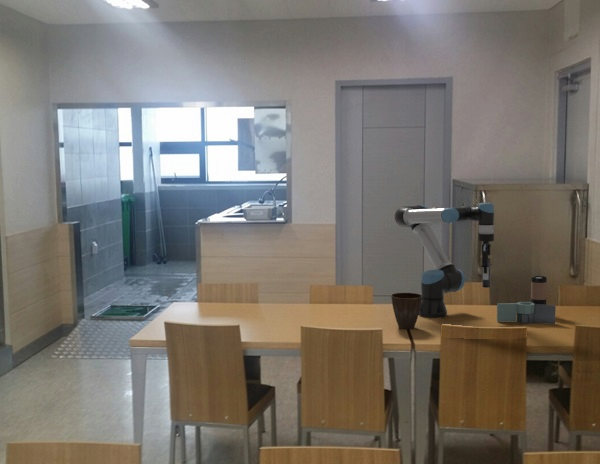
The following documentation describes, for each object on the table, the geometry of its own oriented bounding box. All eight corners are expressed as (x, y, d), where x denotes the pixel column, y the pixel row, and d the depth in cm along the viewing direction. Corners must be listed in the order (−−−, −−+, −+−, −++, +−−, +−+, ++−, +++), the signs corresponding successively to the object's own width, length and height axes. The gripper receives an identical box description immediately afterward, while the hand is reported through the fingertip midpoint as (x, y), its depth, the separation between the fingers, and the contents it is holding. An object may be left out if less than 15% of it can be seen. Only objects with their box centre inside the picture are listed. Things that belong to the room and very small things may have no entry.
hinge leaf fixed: (516, 322, 337) (516, 304, 336) (517, 319, 345) (518, 301, 344) (554, 325, 330) (555, 307, 329) (555, 322, 338) (555, 303, 337)
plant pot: (418, 323, 339) (418, 292, 337) (424, 330, 324) (425, 298, 323) (389, 324, 339) (389, 292, 337) (393, 331, 324) (393, 298, 322)
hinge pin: (480, 287, 344) (480, 256, 342) (481, 285, 348) (481, 255, 347) (490, 287, 341) (490, 256, 340) (492, 286, 346) (492, 255, 345)
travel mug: (547, 316, 350) (547, 278, 348) (531, 316, 352) (532, 278, 350) (544, 313, 358) (545, 276, 356) (529, 312, 359) (530, 275, 357)
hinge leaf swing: (531, 319, 343) (531, 301, 342) (535, 323, 335) (536, 305, 334) (495, 319, 344) (495, 302, 343) (499, 323, 336) (499, 305, 335)
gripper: (491, 234, 333) (491, 281, 335) (496, 231, 349) (496, 276, 351) (475, 234, 336) (476, 281, 338) (481, 231, 352) (481, 276, 354)
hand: (486, 278), depth 345 cm, fingers closed on hinge pin, 4 cm apart
